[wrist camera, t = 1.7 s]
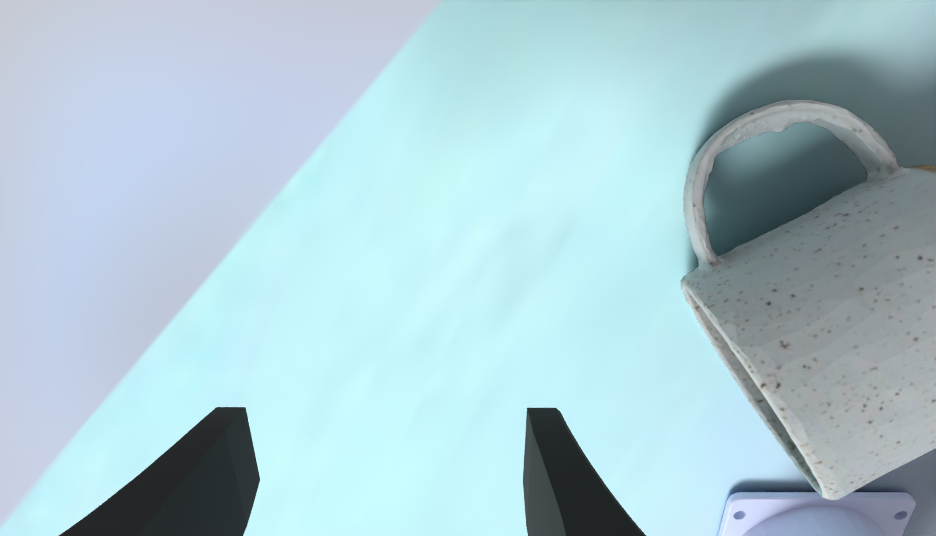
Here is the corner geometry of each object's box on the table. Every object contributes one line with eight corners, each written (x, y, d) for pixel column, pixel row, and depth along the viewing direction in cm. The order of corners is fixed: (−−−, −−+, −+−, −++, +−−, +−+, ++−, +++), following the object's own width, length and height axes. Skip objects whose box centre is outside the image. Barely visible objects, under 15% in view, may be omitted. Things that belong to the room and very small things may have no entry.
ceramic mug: (951, 286, 22) (1173, 426, 15) (742, 392, 24) (851, 558, 17) (843, 32, 18) (1069, 60, 11) (608, 183, 20) (677, 285, 13)
